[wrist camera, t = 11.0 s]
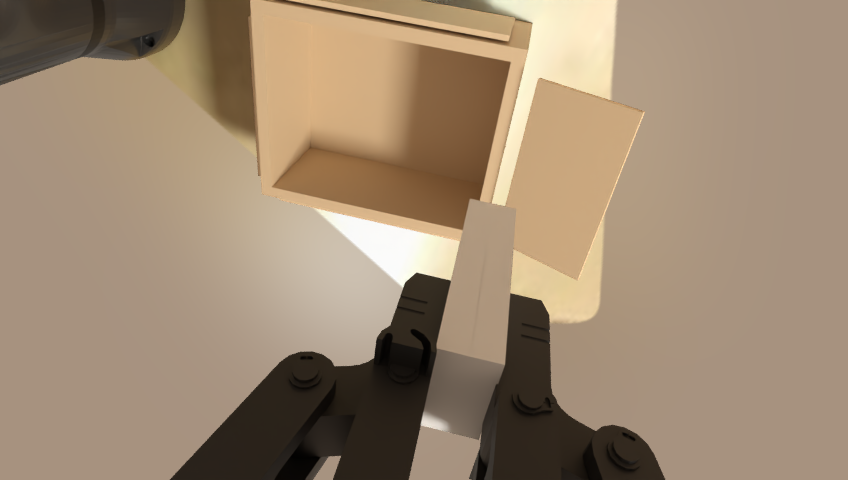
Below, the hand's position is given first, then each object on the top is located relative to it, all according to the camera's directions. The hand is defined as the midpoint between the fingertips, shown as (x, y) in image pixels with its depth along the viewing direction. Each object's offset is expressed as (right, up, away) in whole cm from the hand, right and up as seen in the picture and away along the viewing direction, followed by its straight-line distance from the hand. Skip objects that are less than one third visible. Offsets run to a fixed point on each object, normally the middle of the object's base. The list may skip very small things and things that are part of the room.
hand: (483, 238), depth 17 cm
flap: (+8, +4, +21) cm, 23 cm away
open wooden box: (-4, +14, +33) cm, 36 cm away
